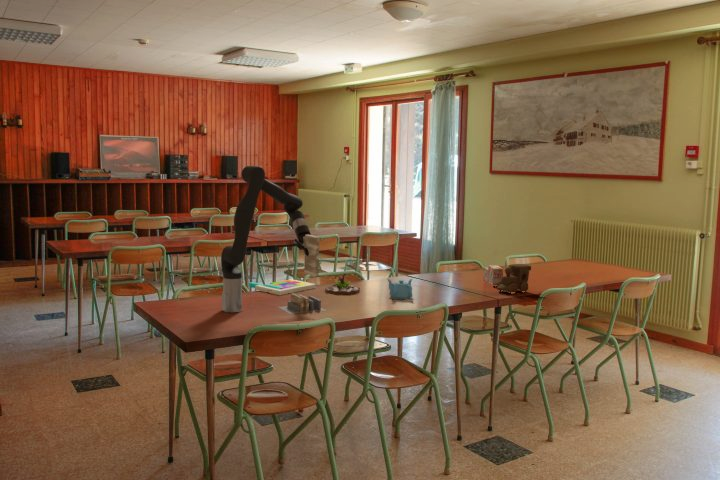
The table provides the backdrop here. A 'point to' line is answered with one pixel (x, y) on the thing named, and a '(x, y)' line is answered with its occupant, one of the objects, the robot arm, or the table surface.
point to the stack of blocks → (493, 274)
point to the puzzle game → (283, 286)
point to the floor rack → (293, 308)
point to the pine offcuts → (300, 301)
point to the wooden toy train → (515, 278)
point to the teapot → (400, 289)
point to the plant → (342, 287)
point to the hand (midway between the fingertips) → (310, 255)
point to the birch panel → (312, 256)
